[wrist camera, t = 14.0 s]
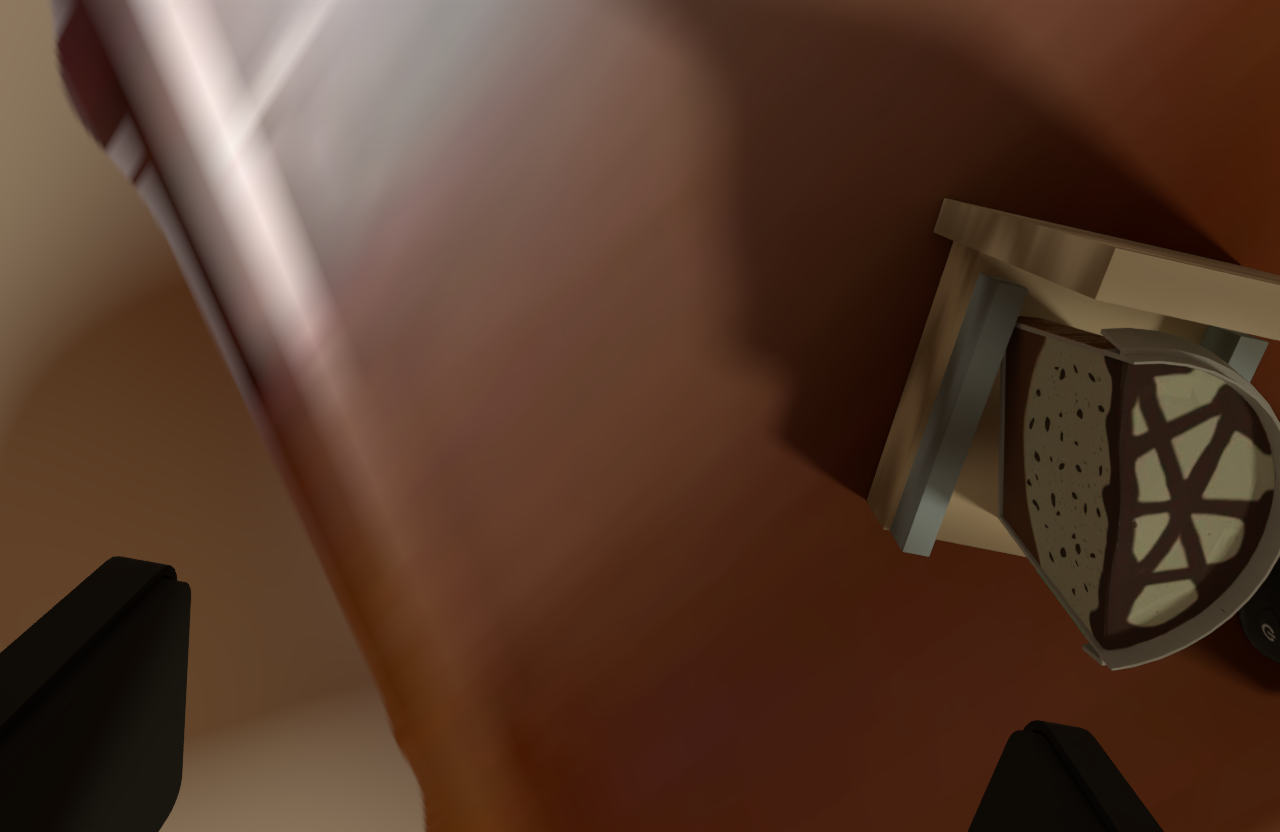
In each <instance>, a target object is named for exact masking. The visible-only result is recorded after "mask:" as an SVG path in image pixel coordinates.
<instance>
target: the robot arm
mask: <svg viewBox="0 0 1280 832" xmlns="http://www.w3.org/2000/svg"><path fill="white" fill-rule="evenodd" d="M190 606H191V589H190V586H189V584H188V583H186V582H181V581H177V575H176V572H175V569H174V568H173V567H172V566H170V565H165V564H159V563H154V562H148V561H143V560H137V559H132V558H126V557H120V556H118V557H112V558H111V559H109V560H107V561H106V562H105V563H104V564H102V565H101V566H100V567H99V568H98V569H97V570H96V571H94V572H93V573H92V574H91V575H90V576H89V577H87V578H86V579H85V580H84V581H83V582H82V583H80V584H79V585H78V586H77V587H76V588H75V589H74V590H72V591H71V592H70V593H69V594H68V595H67V596H65V597H64V598H63V599H62V600H61V601H60V602H59V603H57V604H56V605H55V606H54V607H53V608H52V609H51V610H49V611H48V612H47V613H46V614H45V615H44V616H43V617H41V618H40V619H39V620H38V621H37V622H36V623H34V624H33V625H32V626H31V627H30V628H29V629H27V630H26V631H25V632H24V633H23V634H22V635H21V636H20V637H18V638H17V639H16V640H15V641H14V642H12V643H11V644H10V645H9V646H8V647H7V648H6V649H4V650H3V651H2V652H1V653H0V832H158V831H159V830H160V829H161V827H162V825H163V824H164V822H165V821H166V819H167V818H168V816H169V814H170V813H171V811H172V809H173V806H174V804H175V802H176V799H177V796H178V793H179V790H180V786H181V780H182V768H183V747H184V745H183V744H184V727H185V707H186V687H187V667H188V647H189V627H190ZM968 832H1164V831H1163V830H1162V829H1161V827H1160V826H1159V824H1158V823H1157V822H1156V820H1155V819H1154V818H1153V816H1152V815H1151V814H1150V812H1149V811H1148V809H1147V808H1146V807H1145V805H1144V804H1143V803H1142V801H1141V800H1140V799H1139V797H1138V796H1137V795H1136V793H1135V792H1134V790H1133V789H1132V788H1131V786H1130V785H1129V784H1128V782H1127V781H1126V780H1125V778H1124V777H1123V776H1122V774H1121V773H1120V771H1119V770H1118V769H1117V767H1116V766H1115V765H1114V763H1113V762H1112V761H1111V759H1110V758H1109V756H1108V755H1107V754H1106V752H1105V751H1104V750H1103V748H1102V747H1101V746H1100V744H1099V743H1098V742H1097V740H1096V739H1095V737H1094V736H1093V735H1092V734H1091V733H1090V732H1089V731H1087V730H1085V729H1082V728H1079V727H1073V726H1067V725H1062V724H1056V723H1051V722H1045V721H1039V720H1036V721H1031V722H1030V723H1029V724H1028V725H1026V726H1025V728H1024V730H1023V731H1022V730H1018V731H1015V732H1014V733H1013V734H1011V736H1010V738H1009V739H1008V741H1007V744H1006V746H1005V748H1004V750H1003V753H1002V755H1001V757H1000V759H999V762H998V764H997V766H996V769H995V771H994V773H993V775H992V778H991V780H990V782H989V784H988V787H987V789H986V791H985V794H984V796H983V798H982V800H981V803H980V805H979V807H978V809H977V812H976V814H975V816H974V818H973V821H972V823H971V825H970V828H969V830H968Z"/></svg>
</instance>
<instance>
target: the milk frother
mask: <svg viewBox="0 0 1280 832" xmlns="http://www.w3.org/2000/svg"><path fill="white" fill-rule="evenodd" d="M1239 617H1240V621H1241V625H1242V628H1243V631H1244V632H1245V634H1246V636H1247V638H1248V639H1249V640H1250V641H1251V643H1252V644H1253V645H1254V647H1255V648H1257V649H1258V650H1259V651H1260V652H1261V653H1262V654H1264V655H1265V656H1267V657H1269V658H1270V659H1272V660H1274V661H1276V662H1278V663H1280V556H1279V558H1278V560H1277V562H1276V563H1275V565H1274V567H1273V568H1272V570H1271V572H1270V573H1269V575H1268V577H1267V578H1266V580H1265V581H1264V582H1263V583H1262V585H1261V586H1260V587H1259V588H1258V590H1257V591H1256V592H1255V594H1254V595H1253V596H1252V597H1251V599H1250V600H1249V601H1248V602H1247V603H1245V604H1244V605H1243V606H1242V607H1241V608H1240V609H1239Z"/></svg>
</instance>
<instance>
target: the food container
mask: <svg viewBox="0 0 1280 832" xmlns="http://www.w3.org/2000/svg"><path fill="white" fill-rule="evenodd" d="M1100 333H1101V334H1102V335H1103V336H1102V335H1098V334H1095V333H1091V332H1088V331H1084V330H1081V329H1077V328H1074V327H1070V326H1067V325H1064V324H1060V323H1057V322H1053V321H1049V320H1045V319H1042V318H1035V317H1025V316H1018V318H1017V321H1016V323H1015V326H1014V329H1013V332H1012V334H1011V337H1010V340H1009V342H1008V345H1007V348H1006V350H1005V353H1004V356H1003V359H1002V361H1001V364H1000V410H999V465H998V519H999V520H1000V522H1001V523H1002V524H1003V526H1004V527H1005V528H1006V530H1007V531H1008V532H1009V534H1010V535H1011V536H1012V538H1013V539H1014V541H1015V542H1016V543H1017V545H1018V546H1019V547H1020V549H1021V550H1022V551H1023V553H1024V554H1025V555H1026V557H1027V558H1028V560H1029V561H1030V562H1031V564H1032V565H1033V566H1034V568H1035V569H1036V570H1037V572H1038V573H1039V574H1040V576H1041V577H1042V579H1043V580H1044V581H1045V583H1046V584H1047V585H1048V587H1049V588H1050V589H1051V591H1052V592H1053V593H1054V595H1055V596H1056V598H1057V599H1058V600H1059V602H1060V603H1061V604H1062V606H1063V607H1064V608H1065V610H1066V611H1067V612H1068V614H1069V615H1070V617H1071V618H1072V619H1073V621H1074V622H1075V623H1076V625H1077V626H1078V627H1079V629H1080V630H1081V631H1082V633H1083V634H1084V636H1085V637H1086V638H1087V640H1088V641H1089V642H1090V644H1085V645H1082V649H1083V650H1084V651H1085V652H1086V653H1087V654H1089V655H1090V656H1091V657H1092V658H1093V659H1095V660H1096V661H1097V662H1098V663H1099V664H1101V665H1102V666H1103V665H1107V666H1108V667H1109V668H1110V669H1111V670H1112V671H1113V670H1119V669H1124V668H1130V667H1136V666H1139V665H1142V664H1146V663H1149V662H1152V661H1156V660H1159V659H1162V658H1164V657H1166V656H1169V655H1171V654H1173V653H1176V652H1178V651H1180V650H1182V649H1185V648H1187V647H1188V646H1190V645H1192V644H1194V643H1195V642H1197V641H1199V640H1200V639H1202V638H1204V637H1205V636H1207V635H1209V634H1210V633H1212V632H1213V631H1214V630H1216V629H1217V628H1218V627H1219V626H1221V625H1222V624H1223V623H1225V622H1226V621H1227V620H1229V619H1230V618H1231V617H1232V616H1233V615H1234V614H1235V613H1236V612H1237V611H1238V610H1239V609H1240V608H1241V607H1242V606H1243V605H1244V604H1245V603H1247V602H1248V601H1249V600H1250V599H1251V597H1252V596H1253V595H1254V594H1255V592H1256V591H1257V590H1258V588H1259V587H1260V586H1261V585H1262V583H1263V582H1264V581H1265V580H1266V578H1267V577H1268V575H1269V573H1270V572H1271V570H1272V568H1273V567H1274V565H1275V563H1276V562H1277V560H1278V558H1279V556H1280V423H1279V421H1278V419H1277V417H1276V416H1275V414H1274V412H1273V410H1272V409H1271V407H1270V405H1269V404H1268V402H1267V401H1266V400H1265V399H1264V398H1263V397H1262V396H1261V395H1260V393H1259V392H1258V391H1257V390H1256V389H1255V388H1254V387H1253V386H1252V385H1251V384H1250V383H1249V382H1248V381H1247V380H1246V379H1245V378H1244V377H1242V376H1241V375H1240V374H1239V373H1238V372H1237V371H1236V370H1235V369H1233V368H1232V367H1231V366H1230V365H1229V364H1227V363H1226V362H1225V361H1223V360H1222V359H1221V358H1219V357H1218V356H1216V355H1215V354H1214V353H1212V352H1211V351H1210V350H1208V349H1206V348H1204V347H1202V346H1200V345H1198V344H1195V343H1193V342H1191V341H1189V340H1187V339H1185V338H1182V337H1178V336H1175V335H1171V334H1167V333H1164V332H1160V331H1155V330H1145V329H1136V328H1110V329H1101V332H1100Z"/></svg>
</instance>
